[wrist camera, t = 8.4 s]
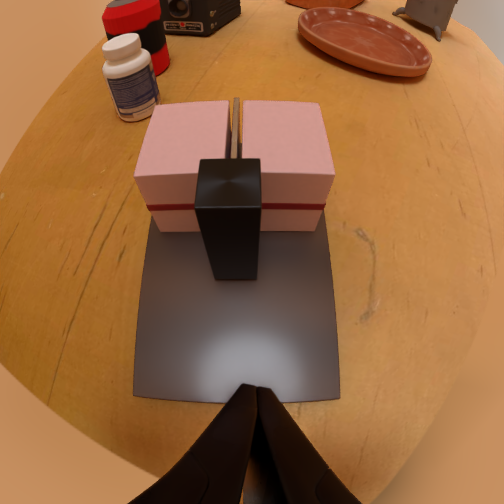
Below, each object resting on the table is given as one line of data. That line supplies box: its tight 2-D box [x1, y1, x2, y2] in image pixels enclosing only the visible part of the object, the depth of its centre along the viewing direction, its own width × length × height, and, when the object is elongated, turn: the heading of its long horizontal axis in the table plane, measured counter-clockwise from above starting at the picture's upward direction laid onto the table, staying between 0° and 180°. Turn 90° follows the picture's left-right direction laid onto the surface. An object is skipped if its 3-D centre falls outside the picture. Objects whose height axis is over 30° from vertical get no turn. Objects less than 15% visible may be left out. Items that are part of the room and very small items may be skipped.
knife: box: [194, 98, 262, 279], centre depth 20 cm, size 12×3×9 cm, turn 0°
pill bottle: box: [102, 33, 161, 121], centre depth 27 cm, size 5×5×10 cm
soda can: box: [102, 0, 170, 76], centre depth 30 cm, size 8×8×12 cm
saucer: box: [298, 7, 432, 77], centre depth 38 cm, size 23×23×4 cm
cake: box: [134, 100, 335, 232], centre depth 22 cm, size 7×12×7 cm, turn 90°
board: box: [133, 143, 340, 403], centre depth 23 cm, size 22×14×1 cm, turn 0°
